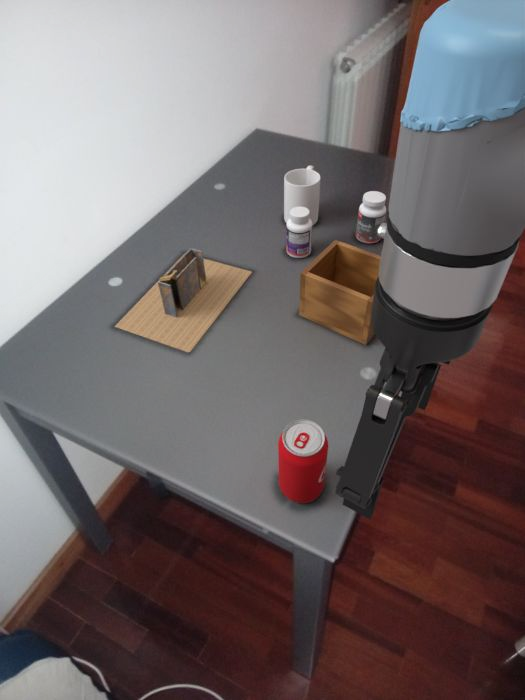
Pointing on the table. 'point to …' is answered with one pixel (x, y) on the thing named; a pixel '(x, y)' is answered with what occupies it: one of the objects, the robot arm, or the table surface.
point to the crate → (341, 290)
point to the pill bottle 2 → (370, 216)
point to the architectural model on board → (184, 301)
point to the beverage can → (302, 460)
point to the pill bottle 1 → (299, 233)
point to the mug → (302, 192)
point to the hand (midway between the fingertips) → (387, 451)
